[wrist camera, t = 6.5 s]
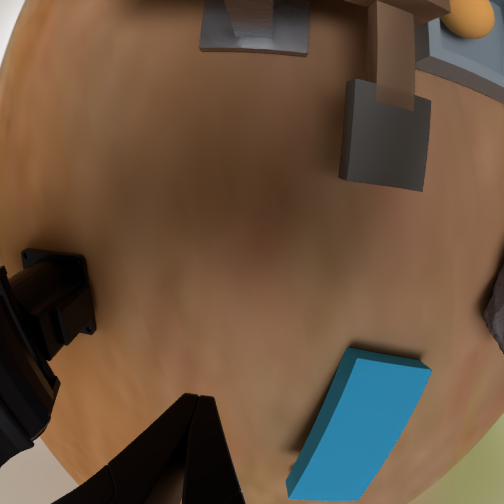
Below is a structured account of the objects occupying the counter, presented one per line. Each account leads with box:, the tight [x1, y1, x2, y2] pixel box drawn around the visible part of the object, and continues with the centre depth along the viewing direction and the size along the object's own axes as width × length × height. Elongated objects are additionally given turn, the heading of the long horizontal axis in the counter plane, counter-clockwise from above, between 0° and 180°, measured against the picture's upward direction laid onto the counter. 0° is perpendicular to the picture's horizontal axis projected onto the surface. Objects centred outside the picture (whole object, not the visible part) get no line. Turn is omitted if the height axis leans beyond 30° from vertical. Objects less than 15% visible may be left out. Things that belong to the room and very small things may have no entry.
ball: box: [440, 0, 495, 39], centre depth 11 cm, size 4×4×4 cm
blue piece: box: [286, 348, 432, 501], centre depth 23 cm, size 7×7×18 cm
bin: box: [414, 0, 504, 103], centre depth 9 cm, size 9×9×8 cm
